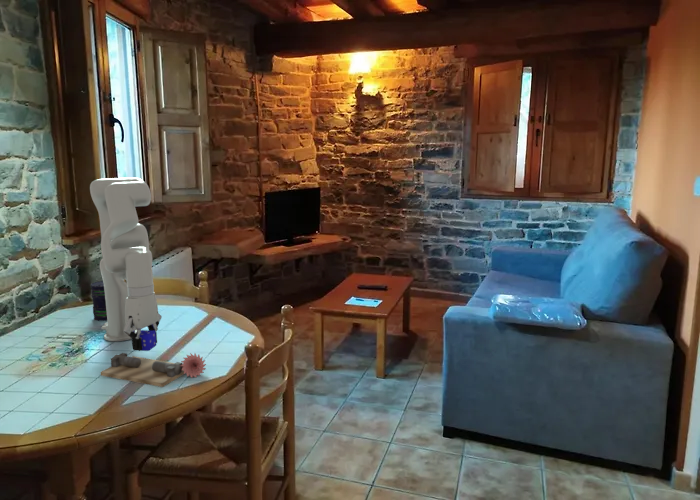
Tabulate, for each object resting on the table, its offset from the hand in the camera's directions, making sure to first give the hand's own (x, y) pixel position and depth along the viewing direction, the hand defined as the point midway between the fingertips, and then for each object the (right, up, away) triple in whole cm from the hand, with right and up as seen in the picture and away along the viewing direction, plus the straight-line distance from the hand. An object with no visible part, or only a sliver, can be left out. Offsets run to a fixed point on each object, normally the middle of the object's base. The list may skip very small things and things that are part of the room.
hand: (145, 346), depth 168 cm
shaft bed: (0, -9, +2) cm, 9 cm away
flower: (+15, -9, 0) cm, 18 cm away
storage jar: (-39, +1, +59) cm, 70 cm away
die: (0, -1, 0) cm, 1 cm away
